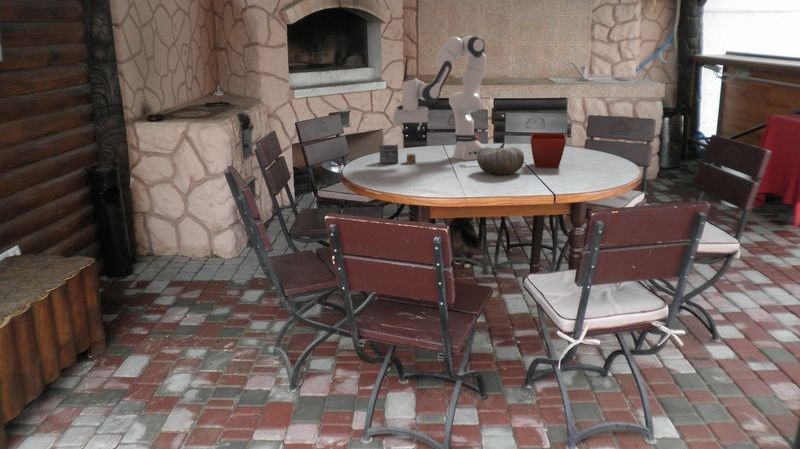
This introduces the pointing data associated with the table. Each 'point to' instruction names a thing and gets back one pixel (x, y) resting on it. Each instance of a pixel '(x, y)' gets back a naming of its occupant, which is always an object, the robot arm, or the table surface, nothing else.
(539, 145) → the plant pot
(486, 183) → the table surface
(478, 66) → the robot arm
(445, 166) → the table surface
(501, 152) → the gourd
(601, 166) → the table surface
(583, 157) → the table surface
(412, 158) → the walnut cube
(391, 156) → the small box
